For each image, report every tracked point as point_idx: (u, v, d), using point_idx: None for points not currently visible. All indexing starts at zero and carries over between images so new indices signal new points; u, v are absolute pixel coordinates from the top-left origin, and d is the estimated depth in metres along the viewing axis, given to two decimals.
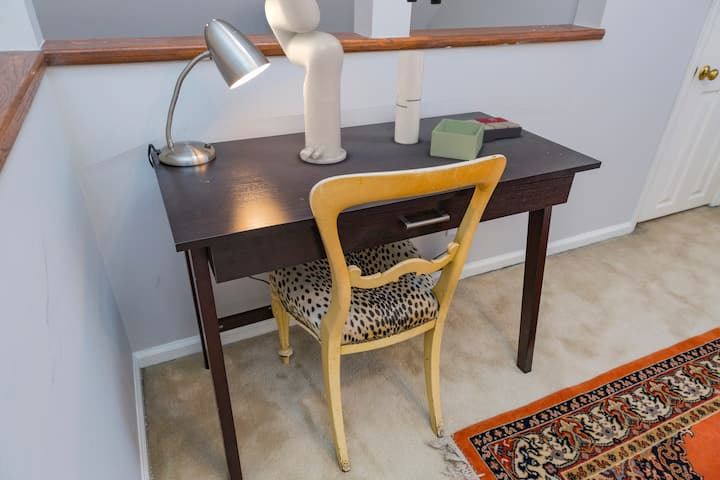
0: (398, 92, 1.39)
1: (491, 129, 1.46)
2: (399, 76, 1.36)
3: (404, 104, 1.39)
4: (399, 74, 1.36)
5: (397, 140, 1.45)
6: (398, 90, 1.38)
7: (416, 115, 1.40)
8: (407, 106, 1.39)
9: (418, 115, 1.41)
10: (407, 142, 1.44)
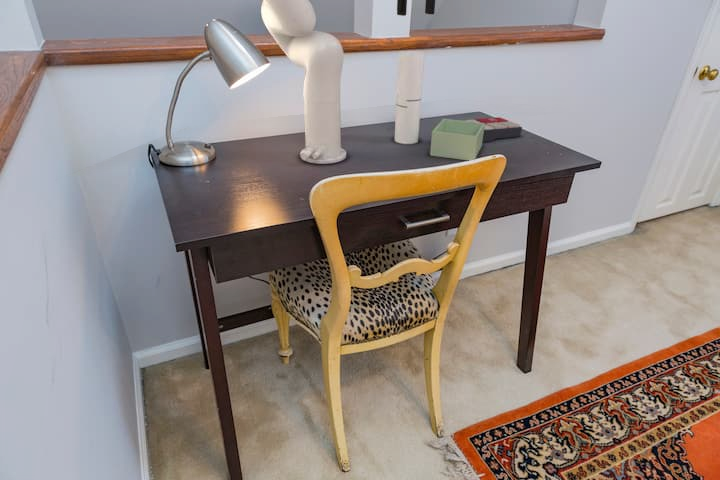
0: (398, 92, 1.39)
1: (491, 129, 1.46)
2: (399, 76, 1.36)
3: (404, 104, 1.39)
4: (399, 74, 1.36)
5: (397, 140, 1.45)
6: (398, 90, 1.38)
7: (416, 115, 1.40)
8: (407, 106, 1.39)
9: (418, 115, 1.41)
10: (407, 142, 1.44)
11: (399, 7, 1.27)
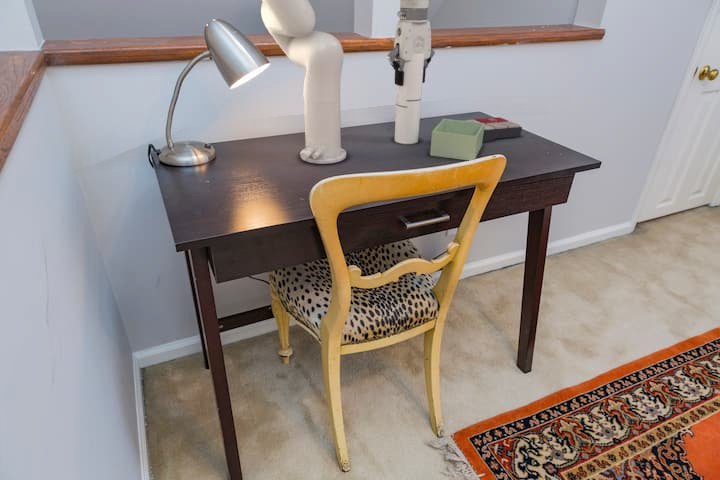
0: (398, 92, 1.39)
1: (491, 129, 1.46)
2: None
3: (404, 104, 1.39)
4: None
5: (397, 140, 1.45)
6: (398, 90, 1.38)
7: (416, 115, 1.40)
8: (407, 106, 1.39)
9: (418, 115, 1.41)
10: (407, 142, 1.44)
11: (397, 78, 1.35)
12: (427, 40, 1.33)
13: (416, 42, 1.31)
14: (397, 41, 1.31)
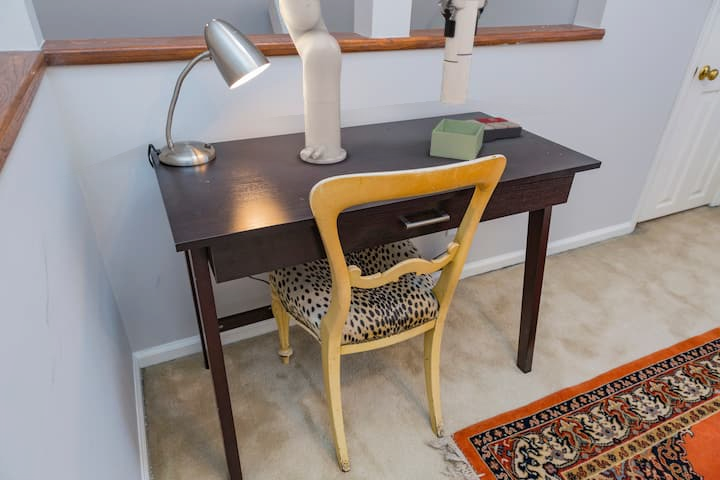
0: (447, 46, 1.26)
1: (491, 129, 1.46)
2: None
3: (454, 59, 1.25)
4: None
5: (444, 101, 1.32)
6: (447, 43, 1.25)
7: (466, 71, 1.27)
8: (457, 61, 1.25)
9: (468, 72, 1.28)
10: (455, 102, 1.31)
11: (447, 29, 1.22)
12: None
13: None
14: None
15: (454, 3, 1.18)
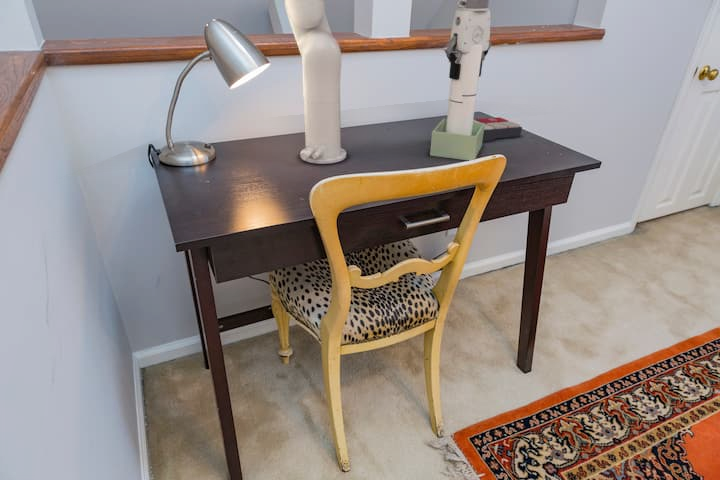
0: (452, 86, 1.29)
1: (491, 129, 1.46)
2: None
3: (459, 99, 1.29)
4: None
5: None
6: (453, 84, 1.29)
7: (471, 111, 1.31)
8: (462, 101, 1.29)
9: (473, 111, 1.32)
10: None
11: (452, 71, 1.26)
12: (486, 30, 1.23)
13: (475, 32, 1.22)
14: (455, 31, 1.21)
15: (459, 48, 1.22)
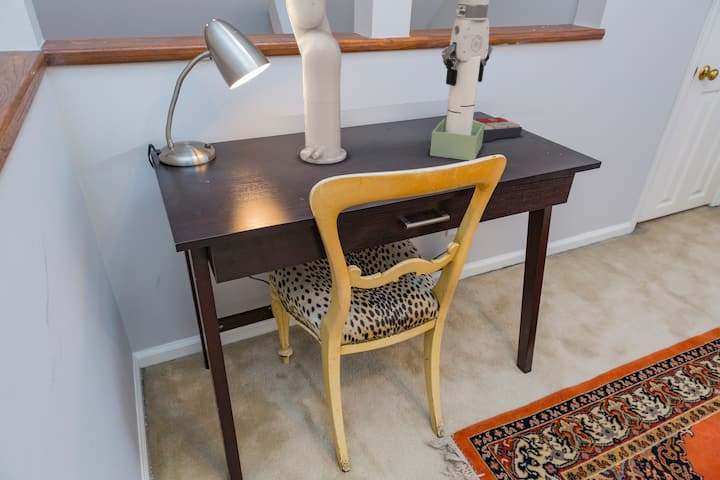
0: (451, 97, 1.31)
1: (491, 129, 1.46)
2: None
3: (457, 110, 1.30)
4: None
5: None
6: (451, 95, 1.30)
7: (469, 121, 1.32)
8: (460, 112, 1.30)
9: (471, 121, 1.33)
10: None
11: (449, 77, 1.26)
12: (485, 39, 1.24)
13: (474, 41, 1.23)
14: (454, 40, 1.22)
15: (458, 56, 1.23)
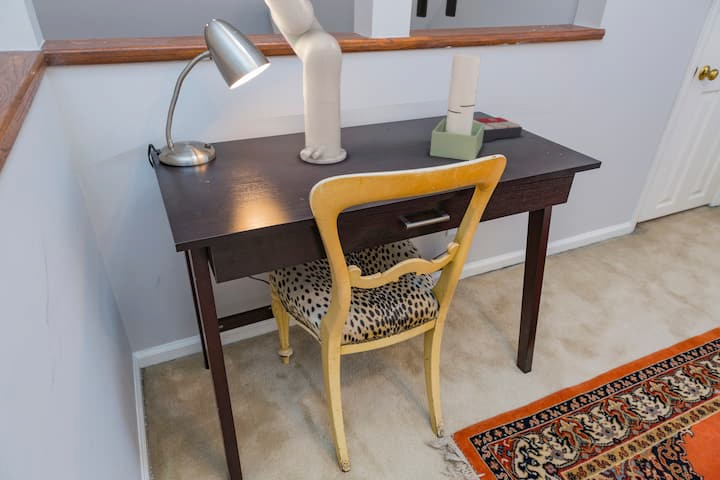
0: (451, 97, 1.31)
1: (491, 129, 1.46)
2: (453, 80, 1.28)
3: (457, 110, 1.30)
4: (453, 78, 1.28)
5: None
6: (451, 95, 1.30)
7: (469, 121, 1.32)
8: (461, 112, 1.30)
9: (471, 121, 1.33)
10: None
11: (419, 8, 1.20)
12: None
13: None
14: None
15: None
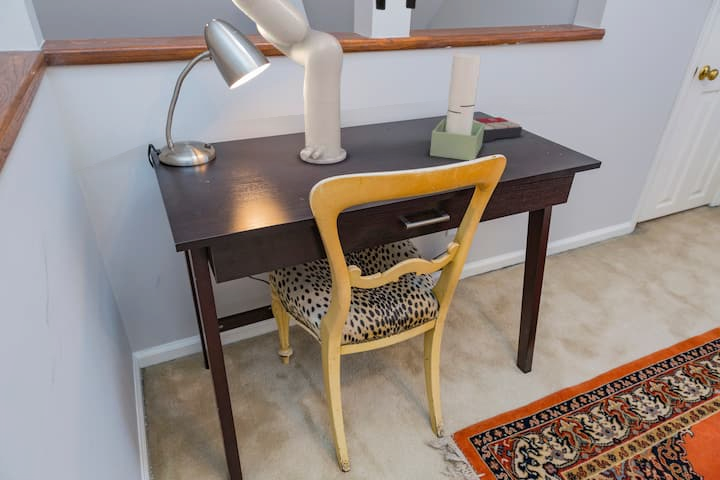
0: (451, 97, 1.31)
1: (491, 129, 1.46)
2: (453, 80, 1.28)
3: (457, 110, 1.30)
4: (453, 78, 1.28)
5: None
6: (451, 95, 1.30)
7: (469, 121, 1.32)
8: (461, 112, 1.30)
9: (471, 121, 1.33)
10: None
11: (378, 1, 1.21)
12: None
13: None
14: None
15: None
